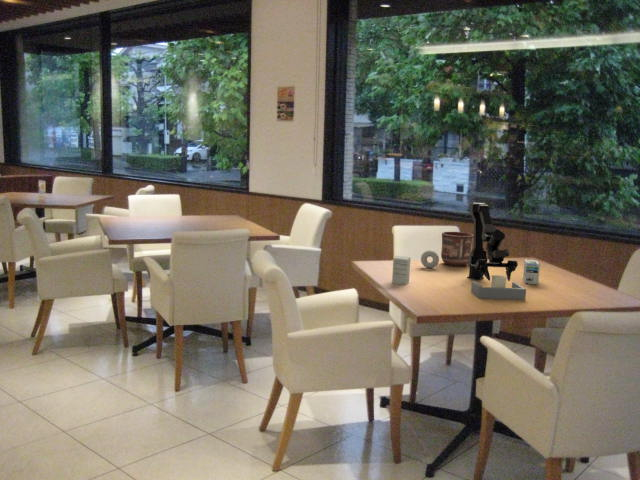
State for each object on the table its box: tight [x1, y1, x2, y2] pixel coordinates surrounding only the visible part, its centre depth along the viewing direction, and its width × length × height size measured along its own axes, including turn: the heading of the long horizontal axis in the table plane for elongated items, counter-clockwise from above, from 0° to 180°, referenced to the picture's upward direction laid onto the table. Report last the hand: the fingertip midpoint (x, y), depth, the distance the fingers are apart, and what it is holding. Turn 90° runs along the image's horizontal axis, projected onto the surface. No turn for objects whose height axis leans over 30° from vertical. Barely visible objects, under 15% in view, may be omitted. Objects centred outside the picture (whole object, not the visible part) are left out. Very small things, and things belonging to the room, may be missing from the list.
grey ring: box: [420, 250, 440, 269], centre depth 348 cm, size 10×4×10 cm, turn 70°
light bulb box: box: [522, 259, 541, 285], centre depth 323 cm, size 11×7×11 cm, turn 168°
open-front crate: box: [470, 280, 527, 301], centre depth 292 cm, size 14×21×5 cm, turn 93°
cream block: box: [490, 274, 507, 288], centre depth 292 cm, size 5×5×9 cm
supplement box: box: [391, 255, 411, 285], centre depth 310 cm, size 7×7×13 cm
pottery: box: [440, 231, 474, 267], centre depth 360 cm, size 18×18×18 cm
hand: (499, 280), depth 290 cm, fingers open, 9 cm apart
